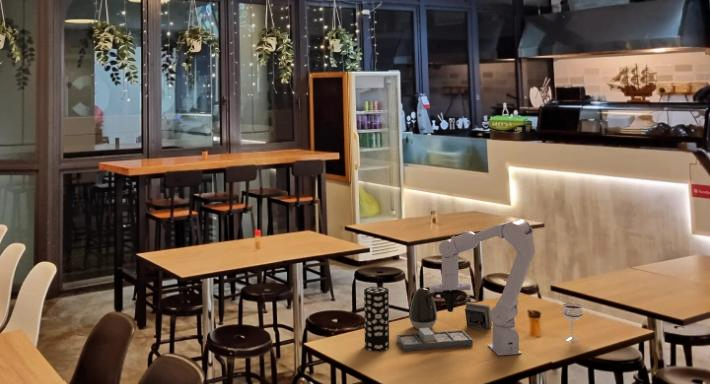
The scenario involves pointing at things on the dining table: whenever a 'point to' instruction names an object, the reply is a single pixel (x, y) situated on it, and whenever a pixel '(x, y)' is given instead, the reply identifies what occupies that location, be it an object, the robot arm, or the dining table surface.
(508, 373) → the dining table surface
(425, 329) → the grey rectangular block
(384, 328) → the spotted tube
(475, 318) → the electrical switch
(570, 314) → the wineglass
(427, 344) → the rack
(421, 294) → the dark egg shaped ornament
